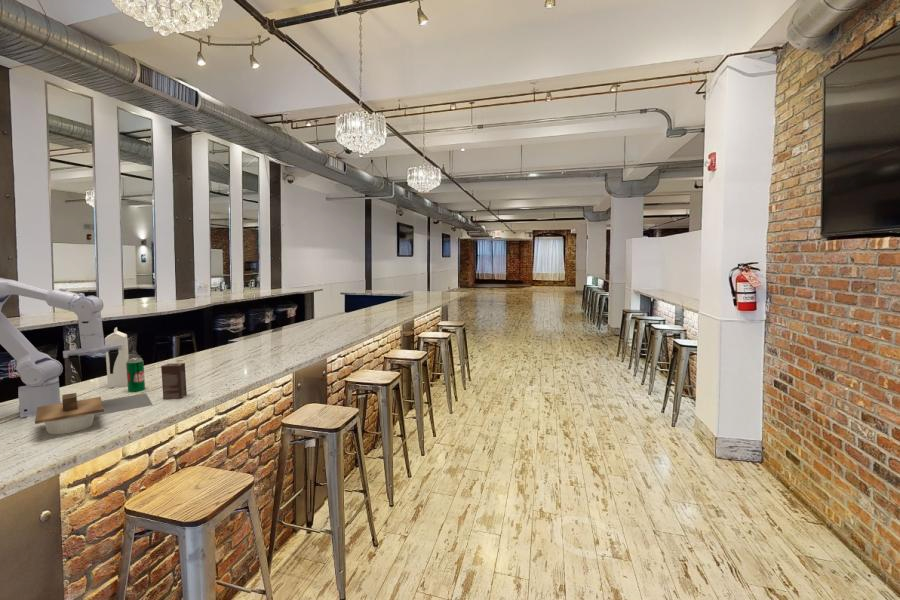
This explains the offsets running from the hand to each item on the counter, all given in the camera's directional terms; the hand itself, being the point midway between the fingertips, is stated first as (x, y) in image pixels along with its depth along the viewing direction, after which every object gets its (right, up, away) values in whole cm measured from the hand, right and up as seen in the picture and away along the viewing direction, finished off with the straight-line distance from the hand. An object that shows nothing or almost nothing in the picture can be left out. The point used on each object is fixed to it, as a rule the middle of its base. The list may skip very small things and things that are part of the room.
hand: (96, 375), depth 138 cm
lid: (+6, -7, -17) cm, 19 cm away
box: (+19, -10, +10) cm, 24 cm away
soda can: (0, -9, +18) cm, 20 cm away
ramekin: (+6, -13, -17) cm, 22 cm away
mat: (+6, -10, +3) cm, 12 cm away
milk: (-12, -8, +25) cm, 28 cm away
